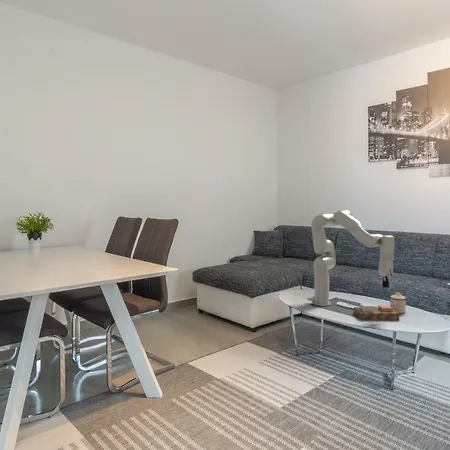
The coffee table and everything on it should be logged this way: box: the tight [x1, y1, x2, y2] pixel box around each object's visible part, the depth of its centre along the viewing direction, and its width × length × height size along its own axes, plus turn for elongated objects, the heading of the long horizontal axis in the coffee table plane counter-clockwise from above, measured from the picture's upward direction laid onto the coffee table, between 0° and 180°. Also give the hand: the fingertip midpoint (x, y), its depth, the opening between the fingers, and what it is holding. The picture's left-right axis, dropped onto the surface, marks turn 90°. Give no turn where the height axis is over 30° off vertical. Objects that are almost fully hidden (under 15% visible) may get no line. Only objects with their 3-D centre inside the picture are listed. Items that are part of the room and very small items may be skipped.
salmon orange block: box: [377, 304, 393, 312], centre depth 228 cm, size 6×6×5 cm
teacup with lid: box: [389, 292, 407, 314], centre depth 238 cm, size 12×9×12 cm
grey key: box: [359, 302, 375, 312], centre depth 228 cm, size 6×6×5 cm
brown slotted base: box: [353, 306, 401, 321], centre depth 228 cm, size 22×13×4 cm, turn 90°
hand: (385, 287), depth 227 cm, fingers closed
